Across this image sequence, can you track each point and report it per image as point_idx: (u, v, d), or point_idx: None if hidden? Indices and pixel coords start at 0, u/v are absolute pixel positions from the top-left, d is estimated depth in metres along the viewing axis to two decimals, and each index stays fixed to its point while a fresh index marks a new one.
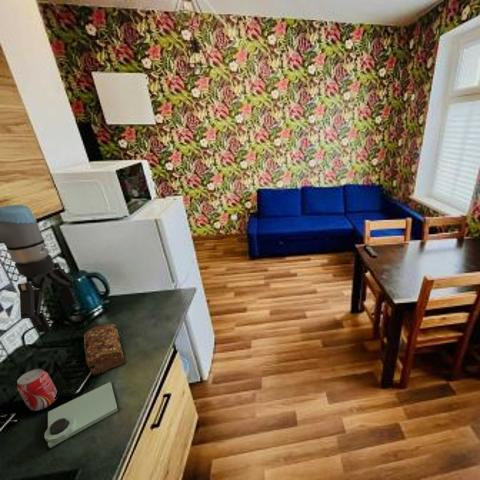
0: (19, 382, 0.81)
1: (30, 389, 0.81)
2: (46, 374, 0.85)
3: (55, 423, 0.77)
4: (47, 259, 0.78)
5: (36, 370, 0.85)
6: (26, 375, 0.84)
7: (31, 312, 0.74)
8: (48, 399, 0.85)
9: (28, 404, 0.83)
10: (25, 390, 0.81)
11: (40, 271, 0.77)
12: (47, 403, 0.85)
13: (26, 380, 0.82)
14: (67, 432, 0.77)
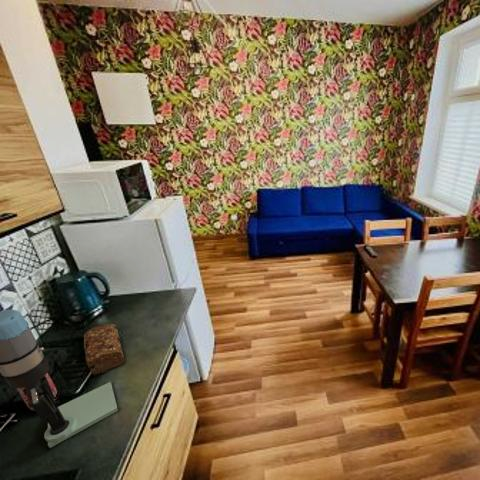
0: None
1: None
2: (46, 374, 0.85)
3: None
4: (45, 360, 0.70)
5: None
6: None
7: (53, 412, 0.72)
8: None
9: None
10: None
11: (42, 375, 0.69)
12: None
13: None
14: (67, 432, 0.77)
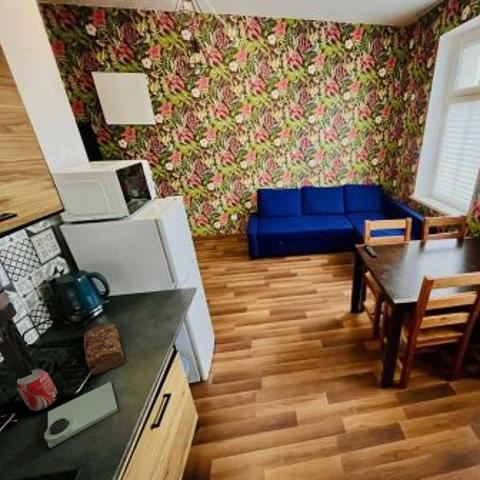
0: (19, 382, 0.81)
1: (30, 389, 0.81)
2: (46, 374, 0.85)
3: (55, 423, 0.77)
4: (11, 305, 0.75)
5: (36, 370, 0.85)
6: None
7: (18, 358, 0.75)
8: (48, 399, 0.85)
9: (28, 404, 0.83)
10: (25, 390, 0.81)
11: (8, 318, 0.74)
12: (47, 403, 0.85)
13: (26, 380, 0.82)
14: (67, 432, 0.77)
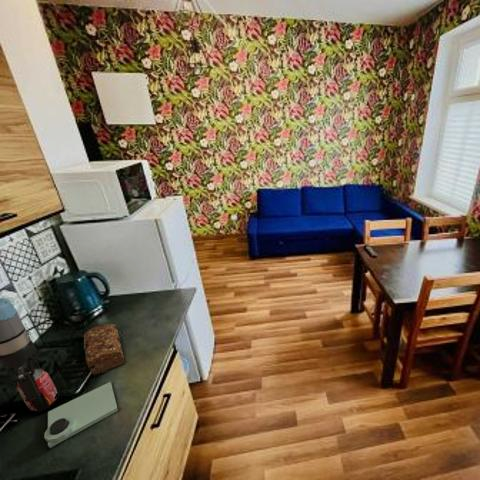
0: None
1: None
2: (46, 374, 0.85)
3: (55, 423, 0.77)
4: (31, 343, 0.81)
5: (36, 370, 0.85)
6: None
7: (37, 393, 0.80)
8: (48, 399, 0.85)
9: (28, 404, 0.83)
10: None
11: (29, 356, 0.79)
12: None
13: None
14: (67, 432, 0.77)
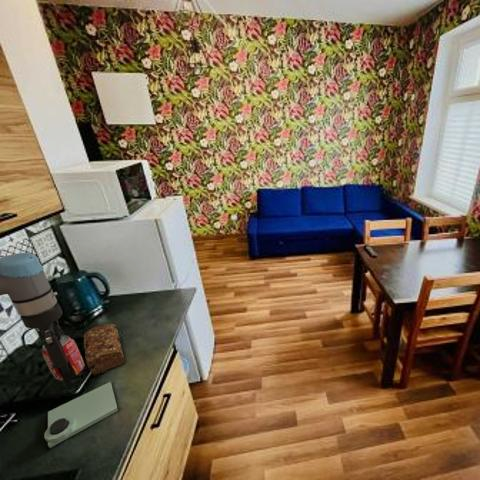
0: (45, 348, 0.75)
1: None
2: (72, 341, 0.79)
3: (55, 423, 0.77)
4: (58, 305, 0.74)
5: (61, 336, 0.79)
6: None
7: (65, 360, 0.73)
8: (74, 368, 0.79)
9: (54, 372, 0.76)
10: None
11: (56, 318, 0.73)
12: None
13: None
14: (67, 432, 0.77)
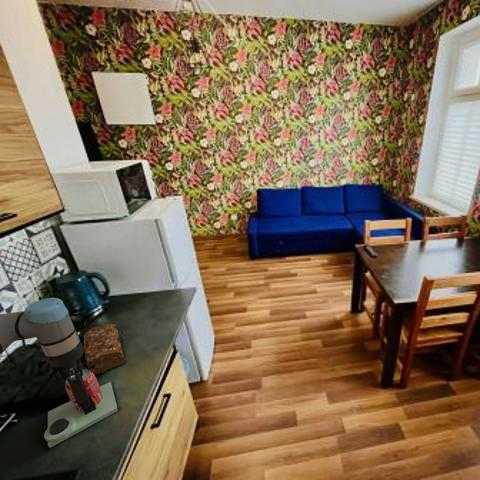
0: (67, 383, 0.80)
1: None
2: (93, 374, 0.84)
3: (55, 423, 0.77)
4: (80, 343, 0.79)
5: (82, 370, 0.84)
6: None
7: (87, 396, 0.78)
8: (94, 400, 0.84)
9: (76, 405, 0.81)
10: None
11: (79, 357, 0.78)
12: None
13: None
14: (67, 432, 0.77)
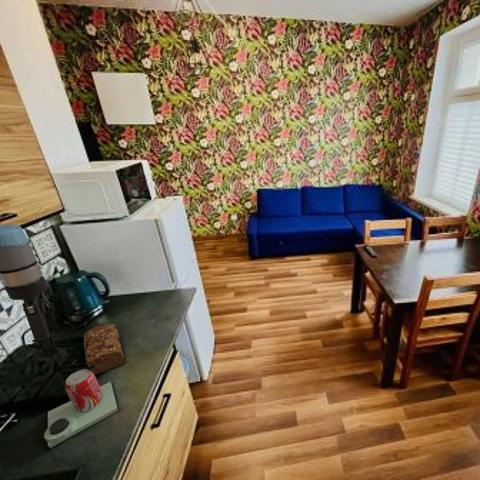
0: (67, 383, 0.80)
1: (79, 390, 0.80)
2: (93, 374, 0.84)
3: (55, 423, 0.77)
4: (43, 278, 0.74)
5: (82, 370, 0.84)
6: (73, 375, 0.82)
7: (46, 333, 0.71)
8: (94, 400, 0.84)
9: (76, 405, 0.81)
10: (74, 391, 0.79)
11: (41, 291, 0.73)
12: (94, 404, 0.84)
13: (75, 381, 0.80)
14: (67, 432, 0.77)
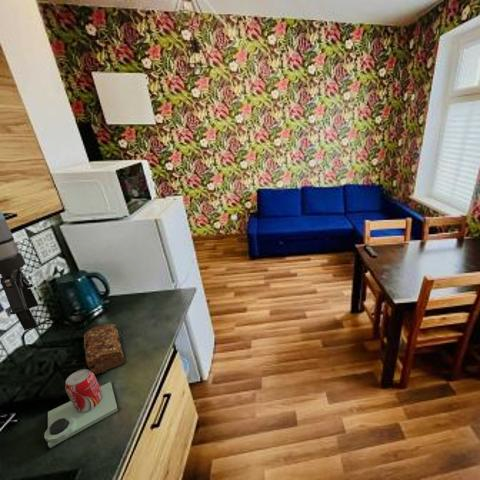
0: (67, 383, 0.80)
1: (79, 390, 0.80)
2: (93, 374, 0.84)
3: (55, 423, 0.77)
4: (20, 255, 0.78)
5: (82, 370, 0.84)
6: (73, 375, 0.82)
7: (23, 306, 0.75)
8: (94, 400, 0.84)
9: (76, 405, 0.81)
10: (74, 391, 0.79)
11: (18, 267, 0.76)
12: (94, 404, 0.84)
13: (74, 381, 0.80)
14: (67, 432, 0.77)
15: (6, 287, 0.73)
